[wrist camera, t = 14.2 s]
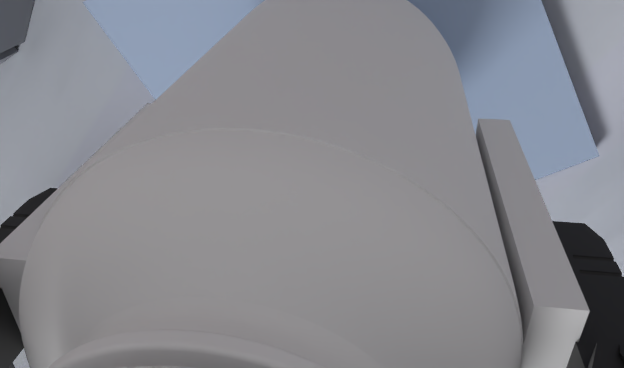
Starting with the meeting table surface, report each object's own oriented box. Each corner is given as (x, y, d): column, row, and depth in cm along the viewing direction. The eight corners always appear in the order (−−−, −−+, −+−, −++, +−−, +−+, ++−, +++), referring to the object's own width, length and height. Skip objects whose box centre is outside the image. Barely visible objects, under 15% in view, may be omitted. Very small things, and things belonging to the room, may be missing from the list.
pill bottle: (339, -92, 15) (-22, 184, 2) (510, 105, 17) (831, 812, 4) (175, 88, 18) (-317, 589, 6) (334, 232, 21) (232, 818, 8)
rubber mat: (443, -257, 14) (444, -260, 14) (595, 149, 20) (599, 156, 19) (89, -1, 20) (82, 2, 19) (286, 266, 25) (284, 273, 25)
